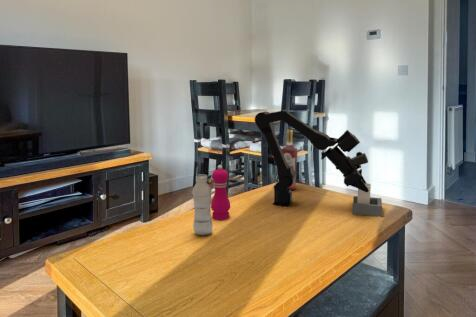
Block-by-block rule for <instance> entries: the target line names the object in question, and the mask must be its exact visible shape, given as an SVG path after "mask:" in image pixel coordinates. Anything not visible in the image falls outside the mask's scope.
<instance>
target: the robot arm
mask: <svg viewBox="0 0 476 317" xmlns="http://www.w3.org/2000/svg"><path fill="white" fill-rule="evenodd" d="M279 121H283V122H284V123H286V124H287V125H288V126H290V127H291V128H293V129H294V130H295V131H297V132H298V133H300V134H301V135H302V136H304V137H306V139H307V141H308V140H309V142H310V143H311V144H312V145H313V146H314V148H316V149H317V150H319V151H321V153H320V154H321V158H320V160H324V159H325V158H327V159H328V160H329V161H330V163H332V164H333V166H335V169H336V171H339V172H340V173H341V174H342V175H343V176H342V177H343V184H344V185H345V186H347V187H349V186H351V187H353V188H356V189H357V190H358V189H360V190H362V191H365V192H368V191H369V190H368V188H367V187H366V185H365V184H364V183H366V184H368V183H367V181H366V179H365V178H364V176H363V169H362V165H365V164H368V163H369V158H368V156H367V155H366V153H365V152H364V153H363V152H361V151H358V152H356V154H355V156H353V157H350V156H349V155H346V154H345V153H346V152H347V153H350V152H351V151H352V150H353V149H354V148H356V147H357V146H358V145H359V144H361V141H360V140H359V139H358V138H357V136H356V135H355V134H353V133H352V132H350V131H349V130H348V129H346V130H345V131H344V133H342V135H340V136H339V137H337V138H336V137H331V136H329V135H328V134H326V133H324V132H322V131H320V130H317V129H315V128H313V127H311V126H309V125H308V124H307V123H305V122H304V121H302V120H301V119H299V118H298V117H296V116H295V115H294V114H293V113H291V112H290V111H289V110H287V109H282V110H279V111H273V112H269V111H267V110H264V111H260V112H258V113H257V114H256V115H255V117H254V122H255V124H256V126H257V128H258V130H259V131H260V132H261V134H262V135H263V137H265V141H266V143H267V145H268V148H269V151H270V154H271V155H272V157H273V160H274V163H275V165H276V170H277V179H278V181H277V182H276V183H275V184H274V185H273V189H274V191H273V194H274V195H273V198H274V199H273V200H274V201H273V202H272V205H275V206H284V207H289V206H290V205H291V204H292V203H293V192H292V190H291V189H289V187H290V186H292V184H293V183H294V182H295V180H297V179H296V178H297V176H296V175H298V174H297V171H296V172H295V171H294V167H293V165H292V166H289V165H288V164H287V162H286V160H285V157H284V155H283V152H282V147H281V145H280V143H279V140H278V137H277V135H276V132H275V126H274V122H279Z"/></svg>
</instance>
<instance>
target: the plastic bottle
mask: <svg viewBox="0 0 476 317" xmlns="http://www.w3.org/2000/svg"><path fill="white" fill-rule="evenodd" d="M195 182H196V183H195V185H194V186H193V188H192V191H191V192H192V199H193V206H194V217H193V218H194V219H193V226H192V227H193V232H194V233H195V235H198V236H208V235H210V234H211V233H212V232H213V227H214V226H213V220H212V212H211V202H212V188H211V185H209V184H208V174H204V173H201V174H196V175H195Z"/></svg>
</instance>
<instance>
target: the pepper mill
mask: <svg viewBox="0 0 476 317" xmlns="http://www.w3.org/2000/svg"><path fill="white" fill-rule="evenodd" d="M211 179H212V180H213V185H212V186H213V187H214V194H213V198H211V206H210V210H212V211H213V212H211V217H212V218H213V219H214V220H216V219H217V221H225V220H227V219H229V218H230V212H229V210H230V209H231V201H230V200H229V199H230V198H229V196H228V194H227V186H228V182H227V181H228V179H229V173H228V171H227V170H226V169H224V168H223V166H222V164H219V165H218V166H217V169H215V170H213V171H212V174H211Z"/></svg>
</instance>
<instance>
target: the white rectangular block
mask: <svg viewBox="0 0 476 317" xmlns="http://www.w3.org/2000/svg"><path fill="white" fill-rule="evenodd" d="M366 183H367V182H366ZM366 183H364V184H365V185H366V187H367V188H368V190H369V191H368V192H365V191H362V190H360V189H358V188H357V196H358V199H357V203H361V204H370V197H371V187H372V186H371V185H372V184H371V183H367V184H366Z"/></svg>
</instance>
